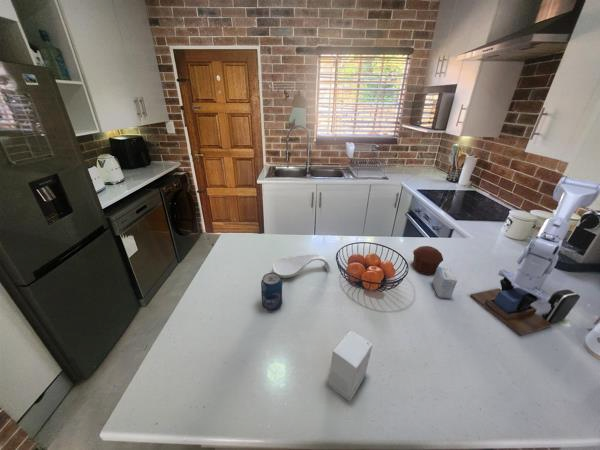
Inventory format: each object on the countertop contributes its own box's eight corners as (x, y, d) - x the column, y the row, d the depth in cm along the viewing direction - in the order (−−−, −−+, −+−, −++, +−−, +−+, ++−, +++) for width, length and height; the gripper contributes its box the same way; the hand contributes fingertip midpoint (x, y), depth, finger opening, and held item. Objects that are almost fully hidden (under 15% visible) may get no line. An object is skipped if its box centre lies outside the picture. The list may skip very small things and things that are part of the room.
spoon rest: (274, 284, 95) (274, 269, 92) (270, 266, 105) (270, 252, 102) (332, 276, 100) (334, 262, 97) (323, 260, 110) (325, 246, 107)
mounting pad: (498, 290, 96) (501, 284, 95) (550, 326, 81) (555, 320, 80) (470, 296, 93) (473, 290, 91) (519, 335, 77) (523, 329, 76)
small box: (344, 361, 68) (350, 328, 62) (365, 377, 64) (373, 343, 58) (327, 384, 62) (332, 350, 56) (349, 402, 59) (357, 368, 53)
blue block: (512, 299, 90) (520, 286, 87) (527, 309, 85) (535, 296, 83) (491, 304, 87) (498, 291, 84) (505, 315, 83) (513, 301, 80)
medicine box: (450, 299, 91) (457, 280, 87) (437, 297, 92) (444, 278, 88) (443, 285, 98) (450, 267, 94) (431, 283, 99) (437, 265, 95)
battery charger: (551, 311, 87) (569, 286, 82) (564, 320, 84) (583, 294, 79) (536, 314, 86) (553, 289, 80) (548, 323, 82) (566, 297, 77)
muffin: (434, 262, 112) (440, 243, 107) (442, 277, 102) (450, 257, 97) (407, 259, 113) (412, 240, 109) (412, 274, 104) (418, 254, 99)
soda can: (262, 314, 82) (260, 286, 76) (261, 299, 88) (260, 272, 82) (283, 312, 83) (283, 284, 77) (281, 297, 89) (281, 270, 83)
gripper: (498, 261, 84) (483, 291, 91) (546, 289, 72) (525, 322, 78) (513, 258, 86) (498, 288, 92) (562, 285, 74) (541, 318, 80)
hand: (511, 303), depth 85 cm, fingers closed on blue block, 5 cm apart
